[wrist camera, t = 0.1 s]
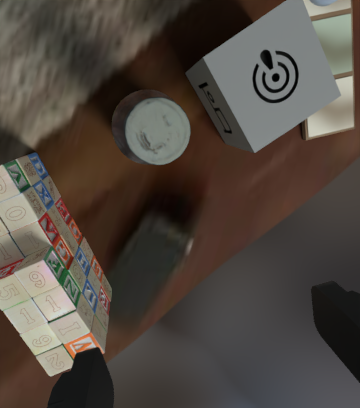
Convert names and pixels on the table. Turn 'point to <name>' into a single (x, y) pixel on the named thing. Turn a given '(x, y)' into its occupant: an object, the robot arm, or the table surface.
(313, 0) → the pawn
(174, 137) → the sauce bottle
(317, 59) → the icon cube
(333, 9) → the board
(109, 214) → the table surface
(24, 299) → the stack of blocks
